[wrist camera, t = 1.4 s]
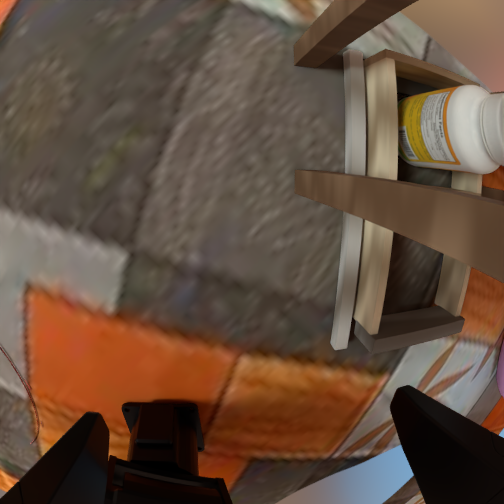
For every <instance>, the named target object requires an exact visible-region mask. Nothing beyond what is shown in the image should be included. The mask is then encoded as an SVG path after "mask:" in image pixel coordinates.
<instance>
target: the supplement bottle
mask: <svg viewBox="0 0 504 504" xmlns="http://www.w3.org/2000/svg"><path fill="white" fill-rule="evenodd" d="M397 109H398V155H399V156H400V157H401V158H402V159H403V160H404V161H405V162H407V163H408V164H410V165H413V166H416V167H423V168H434V169H443V170H452V171H460V172H467V173H474V174H488V173H491V172H493V171H495V170H496V169H498V168H499V166H500V165H502V166H504V93H500V94H490V93H489V92H488V91H486V90H485V89H483V88H481V87H479V86H476V85H463V86H457V87H452V88H446V89H441V90H436V91H432V92H427V93H422V94H418V95H413V96H409V97H406V98H403V99H402V100H400V101H399V102H398V103H397Z"/></svg>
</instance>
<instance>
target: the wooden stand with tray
mask: <svg viewBox="0 0 504 504" xmlns="http://www.w3.org/2000/svg"><path fill="white" fill-rule="evenodd" d="M416 1H418V0H334V1H333V2H332V3H331V5H330V6H329V7H328V8H327V9H326V10H325V11H324V12H323V13H322V14H321V15H320V16H319V17H318V19H317V20H316V21H315V22H314V23H313V24H312V25H311V26H310V27H309V29H308V30H307V31H306V32H305V33H304V34H303V35H302V37H301V38H300V39H299V40H298V41H297V42H296V44H295V45H294V65H295V66H304V67H313V68H317V67H318V66H320V65H321V64H322V63H324V62H325V61H326V60H328V59H329V58H330V57H332V56H333V55H335V54H336V53H337V52H339V51H340V50H342V49H343V48H344V47H346V46H347V45H349V44H350V43H352V42H353V41H354V40H356V39H357V38H359V37H360V36H362V35H363V34H365V33H366V32H368V31H369V30H371V29H372V28H374V27H375V26H377V25H378V24H380V23H381V22H383V21H385V20H386V19H388V18H389V17H391V16H393V15H394V14H396V13H397V12H399V11H401V10H402V9H404V8H406V7H407V6H409V5H411V4H412V3H414V2H416ZM343 63H344V84H345V127H346V144H345V173H337V172H328V171H318V170H295V194H298V195H301V196H304V197H306V198H309V199H312V200H315V201H317V202H320V203H323V204H325V205H328V206H331V207H333V208H336V209H339V210H341V211H343V228H342V242H341V255H340V267H339V277H338V287H337V296H336V305H335V313H334V321H333V329H332V336H331V345H332V346H333V348H334V349H335V350H339V349H345V348H347V344H348V339H349V333H350V327H351V320H352V314H353V307H354V300H355V292H356V284H357V276H358V267H359V258H360V247H361V236H362V223H363V219H364V220H367V221H369V222H372V223H374V224H377V225H379V226H381V227H384V228H386V229H389V230H391V231H393V232H396V233H398V234H400V235H403V236H405V237H407V238H410V239H412V240H414V241H417V242H419V243H421V244H423V245H426V246H428V247H430V248H432V249H434V250H437V251H439V252H441V253H443V254H445V255H447V256H450V257H452V258H454V259H456V260H458V261H460V262H462V263H464V264H466V265H468V266H471V267H473V268H475V269H477V270H479V271H481V272H483V273H485V274H487V275H489V276H491V277H493V278H495V279H496V280H498V281H500V282H502V283H504V191H503V190H499V189H494V188H489V187H483V186H482V190H481V196H478V195H473V194H468V193H464V192H459V191H454V190H449V189H444V188H438V187H433V186H428V185H422V184H416V183H410V182H404V181H397V180H391V179H384V178H377V177H370V176H365V160H366V114H365V85H364V67H363V54H362V52H361V51H356V50H352V49H348V50H347V51H345V52H344V53H343ZM396 88H397V92H398V93H402V94H406V95H410V96H413V95H418V94H422V93H427V92H432V91H436V90H440V89H437V88H434V87H431V86H428V85H425V84H422V83H419V82H415V81H412V80H408V79H405V78H401V77H398V76H396ZM500 93H504V92H494V93H490V94H500Z"/></svg>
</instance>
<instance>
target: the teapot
mask: <svg viewBox="0 0 504 504" xmlns="http://www.w3.org/2000/svg"><path fill="white" fill-rule="evenodd" d="M496 379H497V384H498V388H499V391H500V394H501V395H502V396H503V397H504V340H503V343H502V347H501V352H500V356H499V361H498V366H497V373H496Z"/></svg>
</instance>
